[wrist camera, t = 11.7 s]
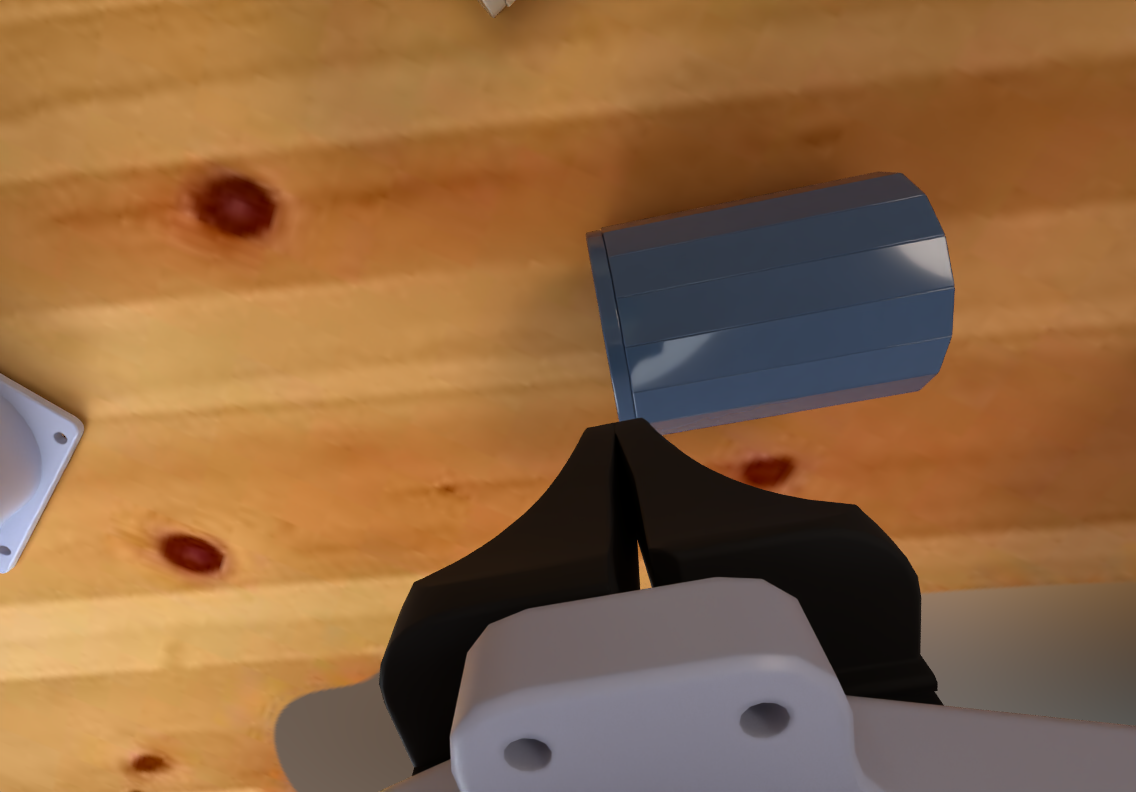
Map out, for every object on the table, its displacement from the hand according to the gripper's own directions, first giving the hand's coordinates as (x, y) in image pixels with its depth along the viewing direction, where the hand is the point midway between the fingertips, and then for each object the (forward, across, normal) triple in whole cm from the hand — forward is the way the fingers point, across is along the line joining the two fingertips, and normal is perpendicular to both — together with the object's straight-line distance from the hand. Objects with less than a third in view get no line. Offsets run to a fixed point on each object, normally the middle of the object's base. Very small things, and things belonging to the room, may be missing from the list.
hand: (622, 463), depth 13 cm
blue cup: (+7, 0, -1) cm, 7 cm away
